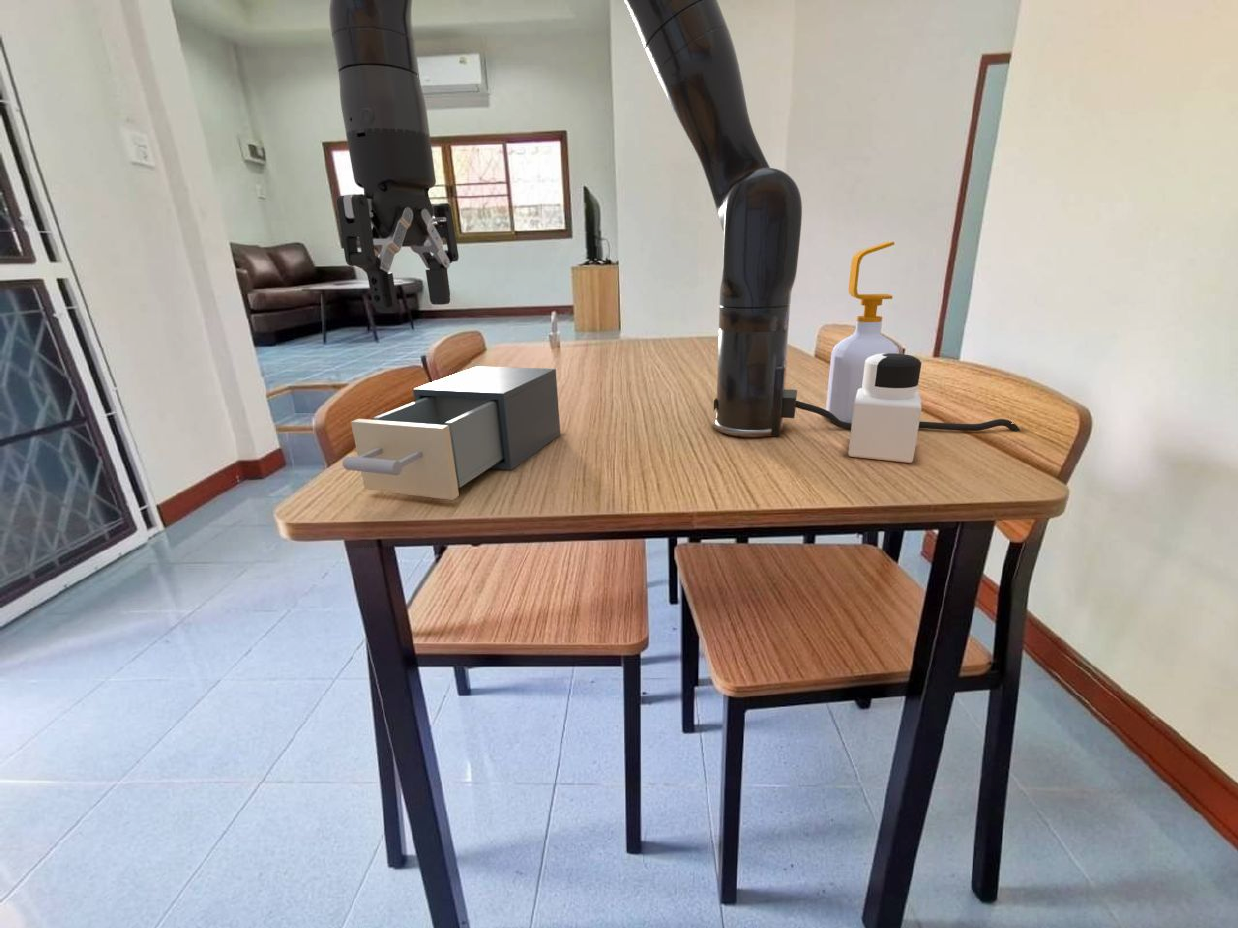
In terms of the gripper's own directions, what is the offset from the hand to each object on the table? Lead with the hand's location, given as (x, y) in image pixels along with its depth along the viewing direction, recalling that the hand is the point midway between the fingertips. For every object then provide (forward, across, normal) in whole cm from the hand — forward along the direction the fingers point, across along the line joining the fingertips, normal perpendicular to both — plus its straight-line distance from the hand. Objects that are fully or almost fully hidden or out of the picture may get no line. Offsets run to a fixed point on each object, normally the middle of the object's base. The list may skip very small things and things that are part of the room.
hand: (415, 308), depth 59 cm
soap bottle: (+20, -37, +47) cm, 63 cm away
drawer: (+19, +2, 0) cm, 19 cm away
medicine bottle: (+20, -23, +49) cm, 58 cm away
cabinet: (+20, -12, 0) cm, 23 cm away
